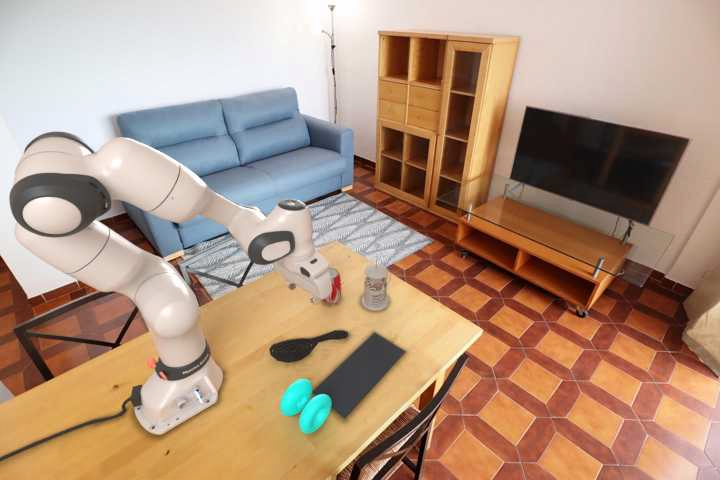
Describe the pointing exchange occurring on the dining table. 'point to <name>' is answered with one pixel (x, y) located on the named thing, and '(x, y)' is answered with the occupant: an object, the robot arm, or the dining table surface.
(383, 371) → the placemat
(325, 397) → the cyan yo-yo
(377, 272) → the french press
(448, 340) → the dining table surface
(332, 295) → the soda can
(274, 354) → the hairbrush
